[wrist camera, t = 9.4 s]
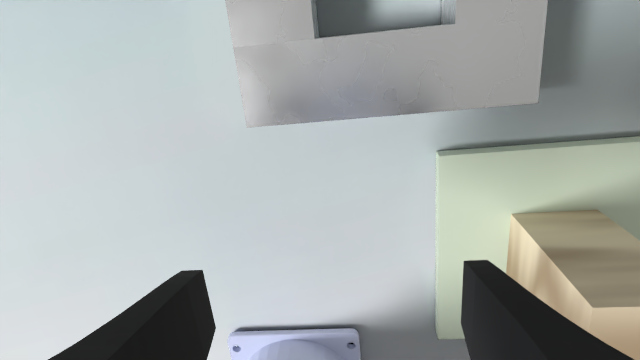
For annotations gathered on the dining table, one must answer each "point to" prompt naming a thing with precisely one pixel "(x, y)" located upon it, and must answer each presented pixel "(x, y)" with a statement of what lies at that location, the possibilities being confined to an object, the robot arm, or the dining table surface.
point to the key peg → (581, 271)
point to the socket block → (384, 62)
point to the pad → (521, 202)
